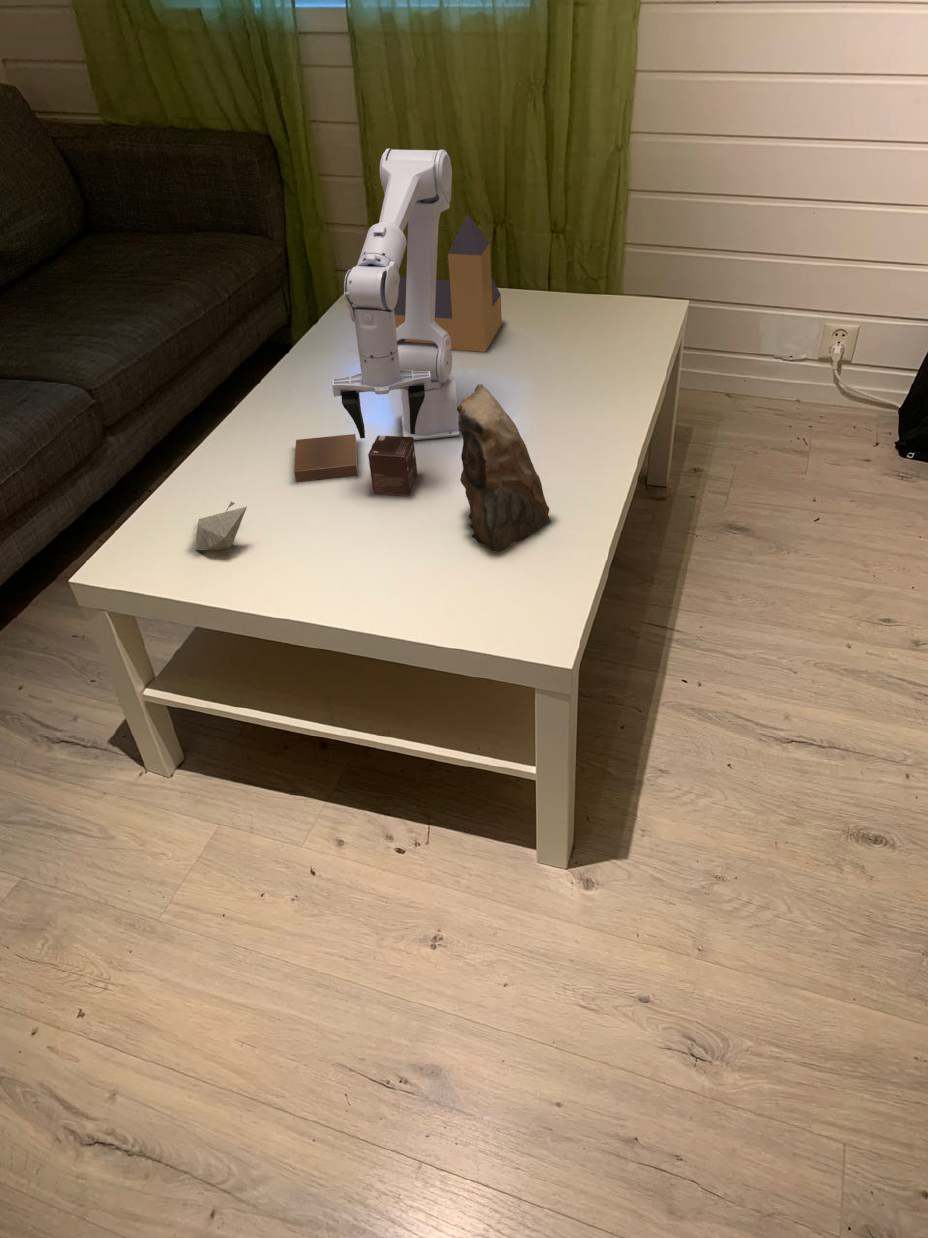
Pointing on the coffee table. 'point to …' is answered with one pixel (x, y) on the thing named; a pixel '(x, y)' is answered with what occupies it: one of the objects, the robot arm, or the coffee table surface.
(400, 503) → the coffee table surface
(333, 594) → the coffee table surface
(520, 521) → the brown rock
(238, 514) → the paper boat
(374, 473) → the box
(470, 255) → the toy building blocks
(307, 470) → the copper block
